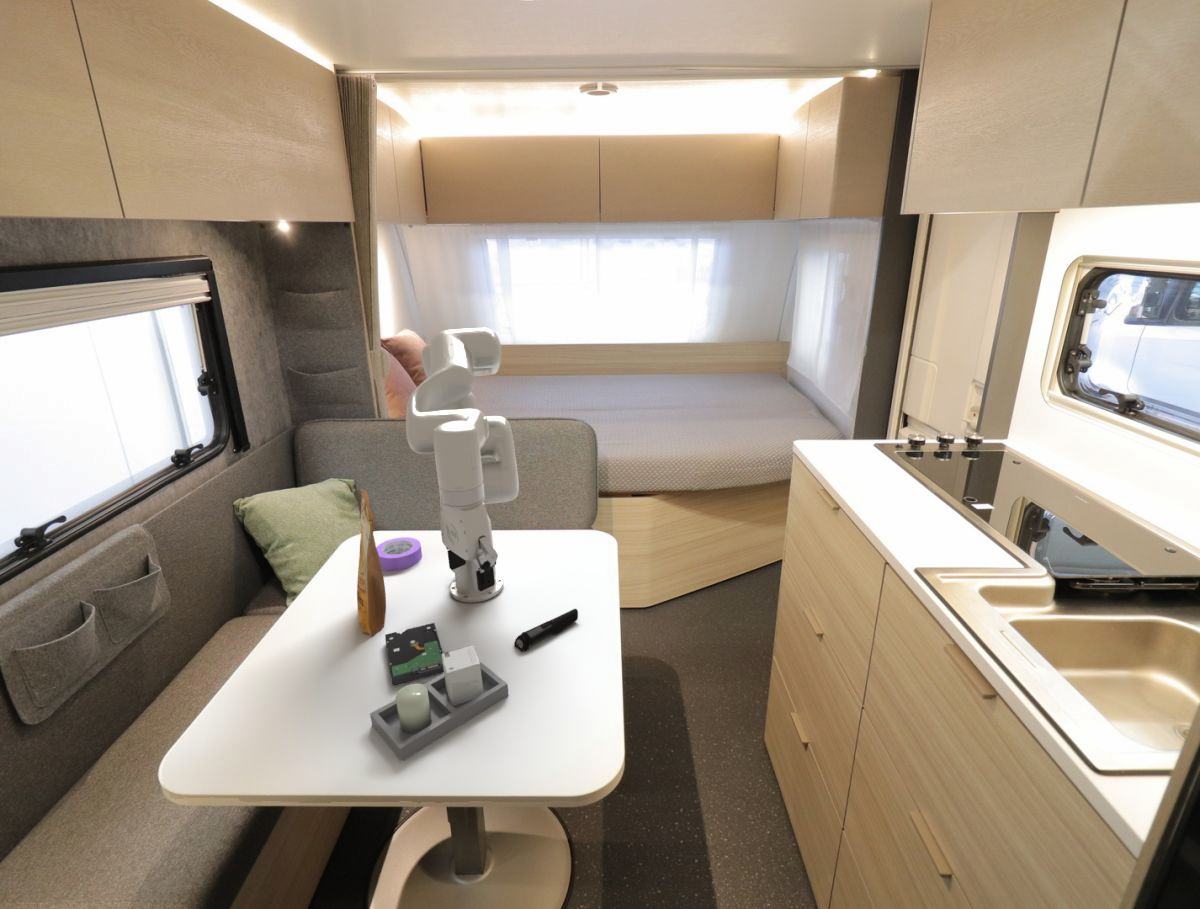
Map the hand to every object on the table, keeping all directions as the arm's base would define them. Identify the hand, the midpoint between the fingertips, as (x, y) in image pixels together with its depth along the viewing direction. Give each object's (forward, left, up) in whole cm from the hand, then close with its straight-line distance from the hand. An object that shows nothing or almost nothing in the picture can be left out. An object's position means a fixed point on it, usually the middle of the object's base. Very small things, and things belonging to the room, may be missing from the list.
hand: (471, 576), depth 111 cm
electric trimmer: (0, +16, -21) cm, 27 cm away
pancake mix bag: (-33, -6, -21) cm, 40 cm away
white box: (+3, -6, -20) cm, 21 cm away
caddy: (+4, -11, -21) cm, 24 cm away
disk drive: (-13, -7, -22) cm, 26 cm away
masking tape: (-54, +10, -21) cm, 59 cm away
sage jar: (+4, -16, -20) cm, 26 cm away
